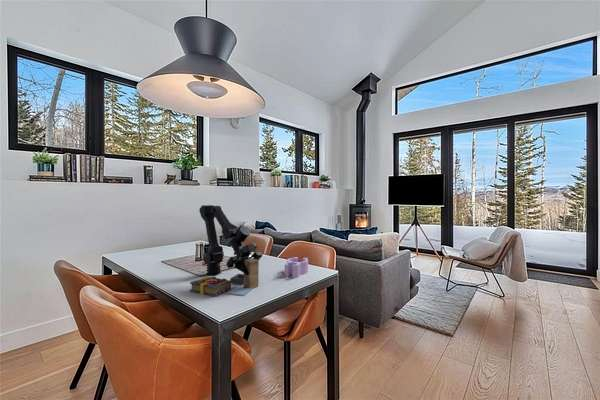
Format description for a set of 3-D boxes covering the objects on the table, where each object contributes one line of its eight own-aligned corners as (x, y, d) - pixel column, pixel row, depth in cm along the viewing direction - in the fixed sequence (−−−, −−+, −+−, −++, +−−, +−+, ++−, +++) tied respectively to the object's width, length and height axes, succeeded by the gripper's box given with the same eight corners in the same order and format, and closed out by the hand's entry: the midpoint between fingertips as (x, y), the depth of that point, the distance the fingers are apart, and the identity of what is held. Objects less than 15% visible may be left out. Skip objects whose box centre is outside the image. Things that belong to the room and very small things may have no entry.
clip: (300, 279, 144) (300, 266, 144) (279, 276, 148) (279, 264, 148) (311, 269, 163) (311, 258, 163) (291, 267, 167) (291, 256, 167)
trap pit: (230, 282, 137) (230, 278, 137) (238, 278, 145) (238, 273, 145) (244, 284, 135) (244, 279, 135) (252, 279, 143) (252, 274, 143)
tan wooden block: (243, 286, 131) (243, 260, 131) (251, 284, 135) (252, 258, 135) (250, 289, 128) (250, 261, 128) (258, 286, 132) (258, 260, 132)
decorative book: (208, 284, 135) (208, 274, 135) (233, 290, 128) (233, 279, 128) (189, 292, 125) (189, 281, 125) (216, 298, 118) (216, 286, 117)
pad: (228, 294, 122) (228, 292, 122) (237, 288, 129) (237, 287, 129) (244, 295, 120) (244, 294, 119) (252, 289, 127) (252, 288, 127)
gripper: (229, 240, 127) (244, 267, 120) (260, 235, 141) (275, 260, 134) (220, 254, 132) (233, 281, 125) (250, 248, 146) (264, 273, 139)
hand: (252, 273), depth 130 cm, fingers closed on tan wooden block, 5 cm apart
